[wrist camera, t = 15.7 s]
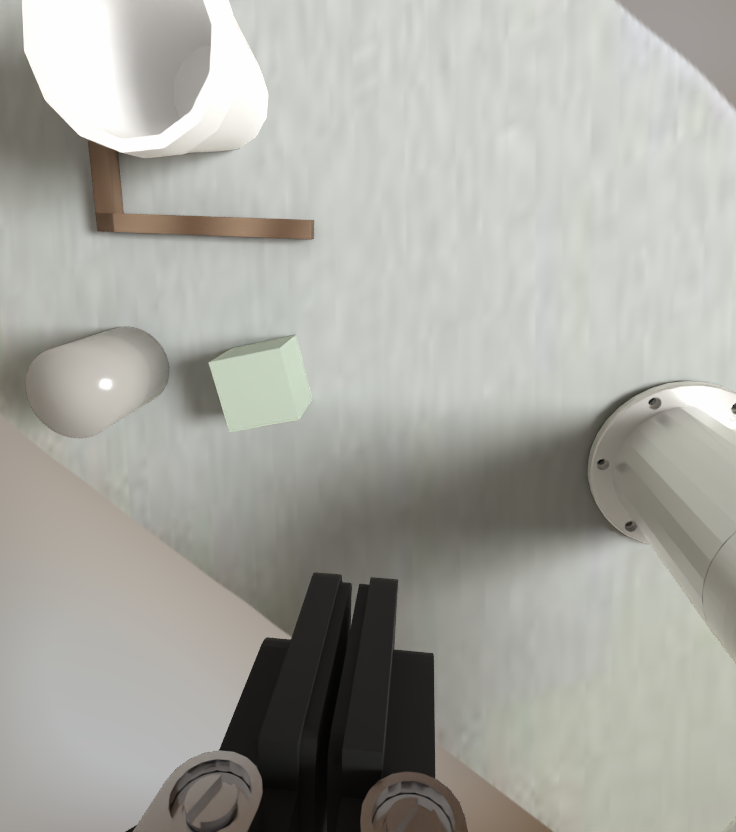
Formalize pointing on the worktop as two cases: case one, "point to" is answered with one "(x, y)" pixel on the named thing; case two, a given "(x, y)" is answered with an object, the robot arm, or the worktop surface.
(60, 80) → the foam cup
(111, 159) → the dark wooden bay
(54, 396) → the grey ceramic jar
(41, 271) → the worktop surface
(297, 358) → the sage painted block
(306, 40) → the worktop surface
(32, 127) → the worktop surface
